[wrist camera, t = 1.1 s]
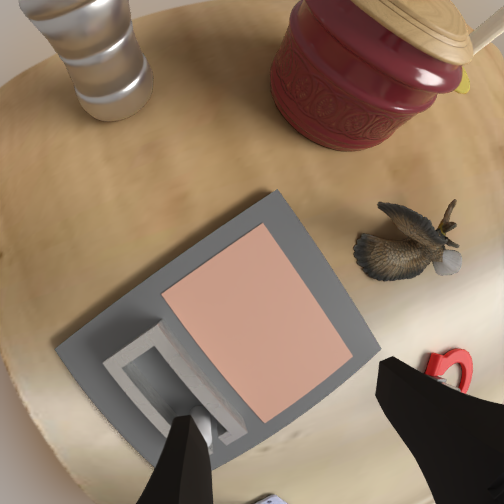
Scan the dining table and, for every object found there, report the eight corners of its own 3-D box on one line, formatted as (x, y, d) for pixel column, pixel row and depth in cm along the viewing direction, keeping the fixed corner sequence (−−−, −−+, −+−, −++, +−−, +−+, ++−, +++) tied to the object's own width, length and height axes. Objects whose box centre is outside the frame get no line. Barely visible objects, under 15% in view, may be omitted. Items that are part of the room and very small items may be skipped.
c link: (194, 447, 20) (193, 463, 17) (112, 354, 19) (102, 363, 17) (243, 417, 21) (247, 432, 18) (162, 318, 20) (156, 324, 18)
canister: (336, 182, 24) (496, 73, 7) (237, 79, 24) (278, -90, 6) (407, 118, 26) (520, 36, 9) (326, 36, 26) (392, -76, 8)
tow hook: (473, 350, 26) (430, 343, 25) (556, 369, 14) (533, 369, 12) (451, 414, 25) (403, 418, 24) (525, 448, 13) (490, 469, 11)
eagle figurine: (424, 184, 24) (359, 185, 21) (483, 213, 19) (430, 220, 16) (407, 253, 28) (344, 269, 25) (456, 289, 22) (398, 317, 19)
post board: (178, 480, 20) (175, 515, 15) (59, 346, 20) (29, 361, 15) (375, 346, 24) (408, 359, 19) (274, 192, 23) (291, 172, 18)
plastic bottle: (139, 136, 22) (58, -81, 2) (76, 124, 21) (-35, -36, 1) (168, 78, 23) (151, -122, 3) (107, 69, 22) (50, -96, 2)
